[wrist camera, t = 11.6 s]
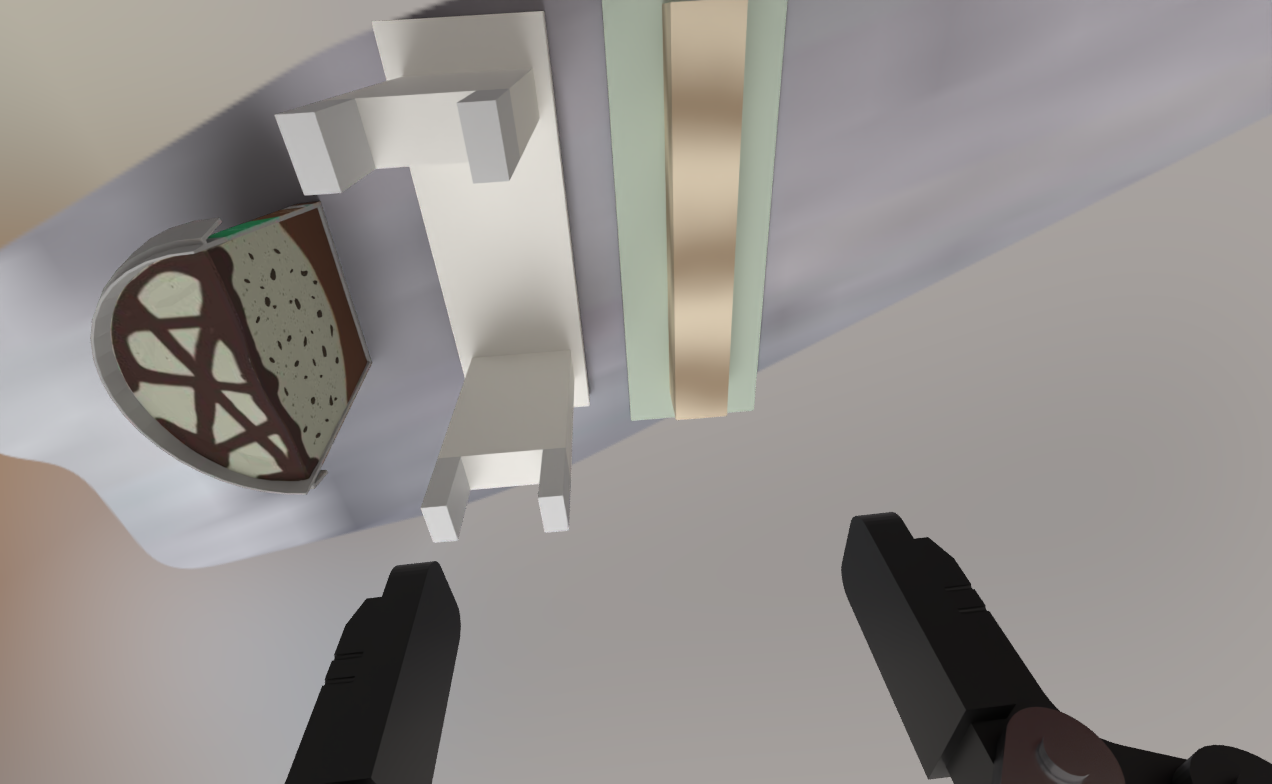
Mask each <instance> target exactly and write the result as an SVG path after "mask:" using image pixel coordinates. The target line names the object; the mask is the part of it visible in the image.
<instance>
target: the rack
mask: <svg viewBox="0 0 1272 784" xmlns="http://www.w3.org/2000/svg"><path fill="white" fill-rule="evenodd" d="M372 26H373V30H374V34H375V38H376V41H377V45H378V49H379V53H380V57H381V60H382V64H383V68H384V72H385V76H386V79H387V81H385V82H382V83H378V84H375V85H372V86H368V87H365V88H362V89H359V90H355V91H352V92H349V93H345V94H342V95H339V96H335V97H332V98H329V99H325V100H322V101H319V102H315V103H312V104H309V105H305V106H302V107H299V108H295V109H292V110H289V111H285V112H282V113H279V114H275V118H276V120H277V123H278V126H279V129H280V131H281V134H282V137H283V139H284V142H285V145H286V147H287V150H288V153H289V155H290V158H291V161H292V163H293V166H294V169H295V172H296V174H297V177H298V180H299V182H300V185H301V188H302V190H303V193H304V195H319V194H333V193H342V192H343V191H345V190H346V189H348V188H349V187H351V186H352V185H353V184H355V183H356V182H358V181H359V180H361V179H362V178H363V177H365V176H366V175H368V174H369V173H371V172H372V171H373V170H375V169H380V168H395V167H410V171H411V175H412V178H413V182H414V186H415V190H416V194H417V197H418V201H419V205H420V209H421V213H422V217H423V220H424V224H425V228H426V232H427V236H428V239H429V243H430V247H431V251H432V255H433V258H434V262H435V266H436V270H437V274H438V277H439V281H440V285H441V289H442V293H443V297H444V300H445V304H446V308H447V312H448V316H449V319H450V323H451V327H452V331H453V335H454V338H455V342H456V346H457V350H458V354H459V357H460V361H461V365H462V369H463V373H464V376H465V380H464V383H463V386H462V389H461V392H460V395H459V398H458V401H457V404H456V406H455V409H454V412H453V415H452V418H451V421H450V424H449V427H448V430H447V433H446V436H445V439H444V441H443V444H442V447H441V450H440V453H439V456H438V459H437V462H436V465H435V468H434V471H433V474H432V477H431V479H430V482H429V485H428V488H427V491H426V494H425V497H424V500H423V503H422V506H421V510H422V513H423V516H424V518H425V520H426V523H427V526H428V529H429V532H430V534H431V537H432V540H433V542H434V543H435V542H445V541H457V540H458V538H459V534H460V529H461V526H462V522H463V518H464V513H465V509H466V506H467V502H468V498H469V494H470V490H474V489H486V488H497V487H509V486H520V485H532V484H539V491H538V501H539V506H540V511H541V516H542V521H543V526H544V530H545V532H555V531H556V532H557V531H566V530H567V531H568V530H569V513H570V488H571V461H572V434H573V407H582V406H590V395H589V386H588V378H587V369H586V361H585V352H584V344H583V335H582V327H581V318H580V310H579V301H578V293H577V284H576V276H575V267H574V259H573V250H572V242H571V233H570V225H569V216H568V208H567V199H566V191H565V182H564V174H563V165H562V157H561V148H560V140H559V131H558V123H557V114H556V106H555V97H554V89H553V80H552V72H551V63H550V55H549V46H548V38H547V29H546V21H545V12H544V11H536V12H520V13H503V14H487V15H470V16H454V17H437V18H421V19H404V20H388V21H372Z"/></svg>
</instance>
